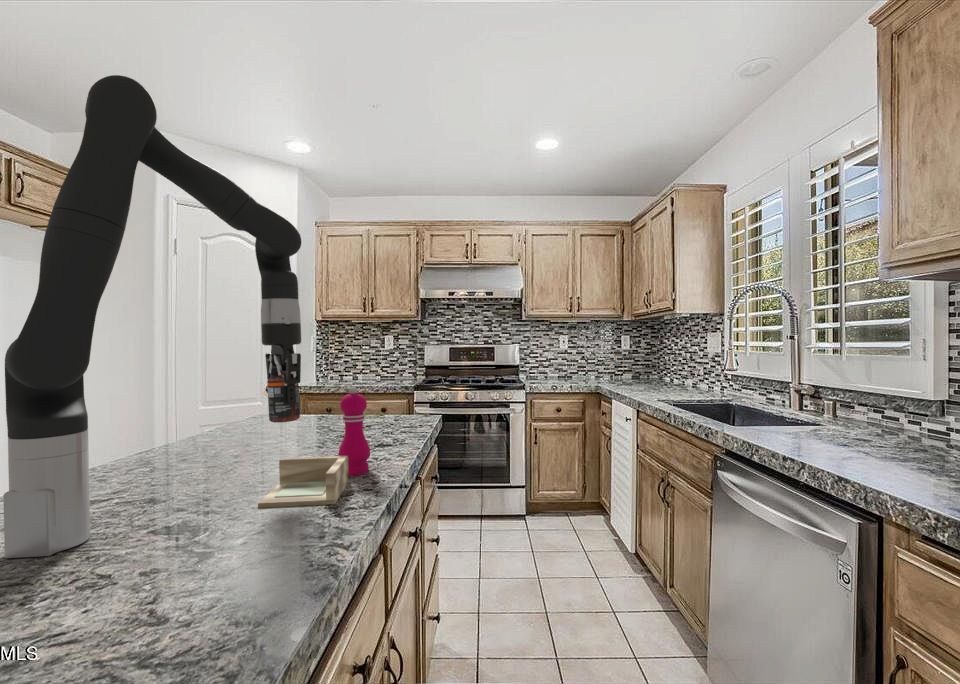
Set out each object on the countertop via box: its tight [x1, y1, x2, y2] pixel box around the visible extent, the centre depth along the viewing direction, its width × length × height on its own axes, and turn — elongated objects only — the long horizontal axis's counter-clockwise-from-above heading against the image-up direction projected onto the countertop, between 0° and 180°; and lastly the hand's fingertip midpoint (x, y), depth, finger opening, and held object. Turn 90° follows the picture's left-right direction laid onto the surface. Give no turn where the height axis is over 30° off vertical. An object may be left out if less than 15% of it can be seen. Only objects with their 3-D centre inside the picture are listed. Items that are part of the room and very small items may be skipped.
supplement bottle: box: [266, 366, 301, 424], centre depth 99 cm, size 6×6×11 cm
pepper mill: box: [337, 386, 371, 477], centre depth 113 cm, size 7×7×20 cm
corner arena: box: [257, 455, 350, 509], centre depth 97 cm, size 14×14×6 cm
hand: (284, 403), depth 99 cm, fingers closed on supplement bottle, 6 cm apart
